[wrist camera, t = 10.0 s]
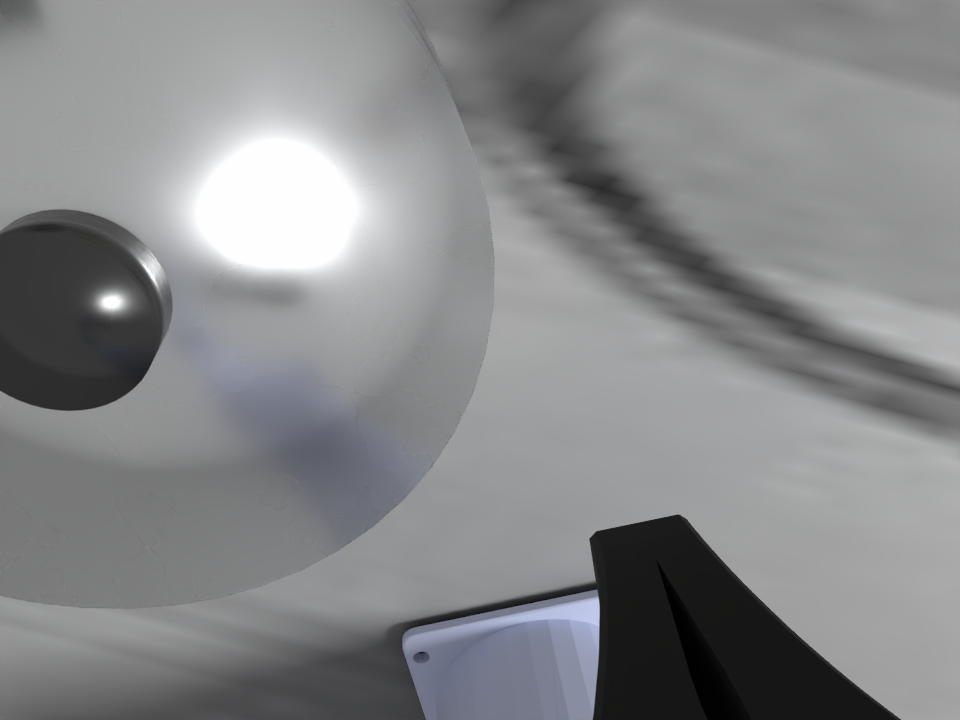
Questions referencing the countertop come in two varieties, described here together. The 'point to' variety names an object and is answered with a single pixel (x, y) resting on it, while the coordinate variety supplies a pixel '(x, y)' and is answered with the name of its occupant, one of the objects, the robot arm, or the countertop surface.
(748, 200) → the countertop surface
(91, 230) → the lid
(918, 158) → the countertop surface
